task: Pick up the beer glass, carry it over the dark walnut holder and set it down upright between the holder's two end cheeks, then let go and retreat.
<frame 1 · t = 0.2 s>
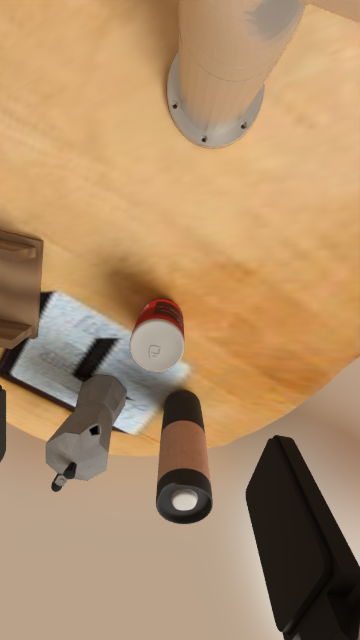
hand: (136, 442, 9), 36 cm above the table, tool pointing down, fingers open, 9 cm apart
coffeepot: (101, 396, 53), on the table
canned food: (161, 318, 47), on the table
holder: (3, 283, 44), on the table
travel mug: (182, 404, 53), on the table
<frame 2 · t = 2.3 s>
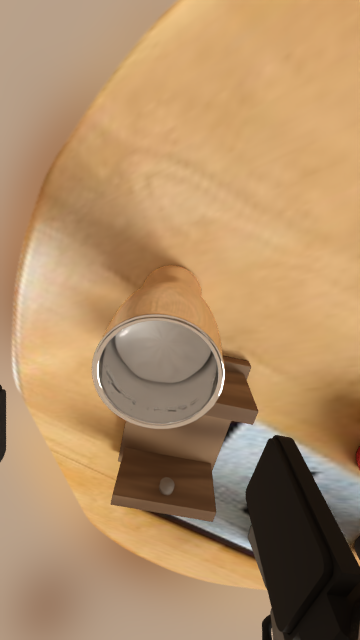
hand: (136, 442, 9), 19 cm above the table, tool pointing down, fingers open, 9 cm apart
coffeepot: (273, 532, 40), on the table
holder: (179, 411, 32), on the table
beer glass: (171, 294, 27), on the table
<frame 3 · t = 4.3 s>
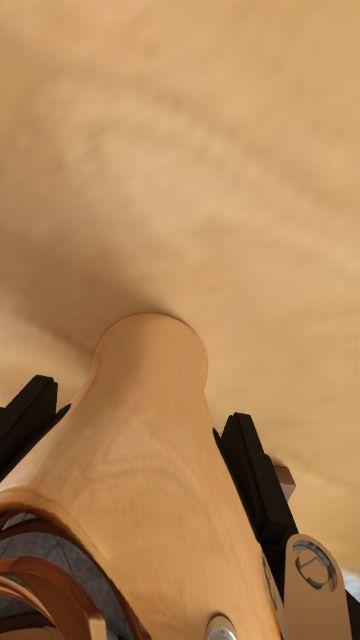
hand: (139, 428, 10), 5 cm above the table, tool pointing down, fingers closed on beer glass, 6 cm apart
holder: (169, 538, 20), on the table
beer glass: (152, 363, 15), on the table, touching gripper
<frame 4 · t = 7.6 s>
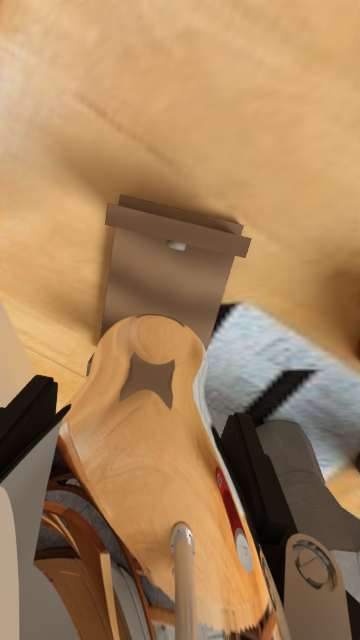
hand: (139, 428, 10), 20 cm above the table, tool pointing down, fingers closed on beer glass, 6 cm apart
coffeepot: (269, 449, 37), on the table
holder: (165, 292, 29), on the table
beer glass: (152, 363, 15), point 15 cm above the table, touching gripper
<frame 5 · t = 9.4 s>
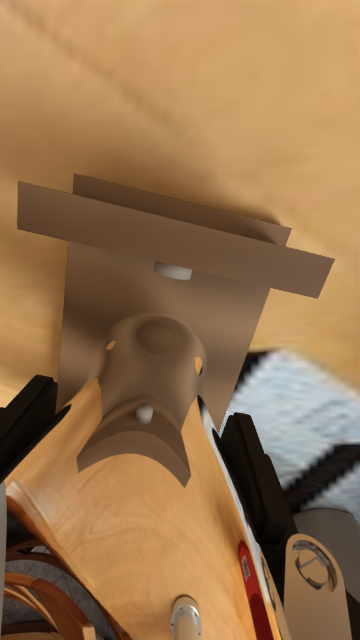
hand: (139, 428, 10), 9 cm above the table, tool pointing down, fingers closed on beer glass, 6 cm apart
coffeepot: (306, 541, 27), on the table
holder: (157, 334, 18), on the table
beer glass: (152, 363, 15), point 4 cm above the table, touching gripper
when the fingers open (7 cm above the table, at t = 10.7 s): beer glass drops 2 cm, resting on holder.
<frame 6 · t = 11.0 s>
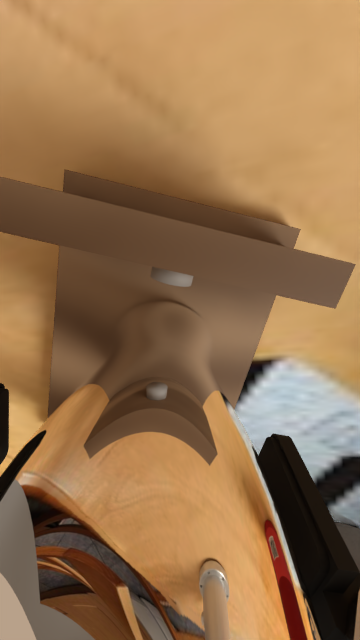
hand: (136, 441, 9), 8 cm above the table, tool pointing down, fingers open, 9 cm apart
coffeepot: (312, 556, 25), on the table
holder: (155, 341, 17), on the table
beer glass: (162, 347, 16), point 1 cm above the table, touching holder
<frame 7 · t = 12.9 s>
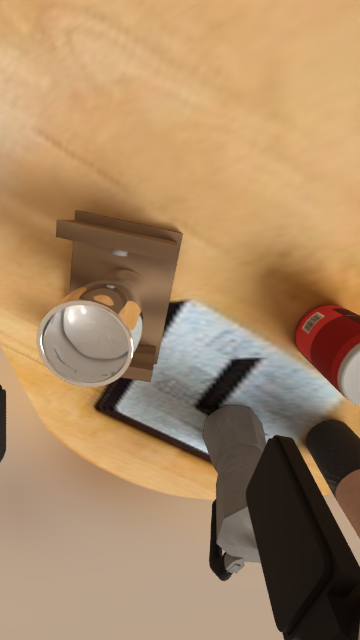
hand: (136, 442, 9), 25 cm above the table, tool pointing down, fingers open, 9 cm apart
coffeepot: (227, 432, 41), on the table
canned food: (320, 330, 36), on the table
holder: (121, 292, 33), on the table
beer glass: (124, 293, 32), point 1 cm above the table, touching holder
travel mug: (327, 437, 42), on the table
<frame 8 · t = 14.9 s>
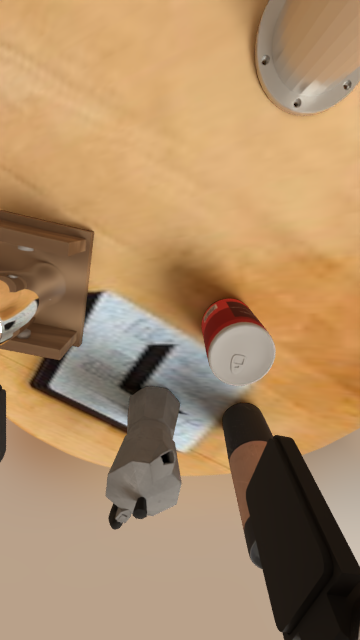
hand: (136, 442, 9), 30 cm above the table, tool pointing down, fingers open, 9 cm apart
coffeepot: (151, 411, 46), on the table
canned food: (225, 321, 41), on the table
holder: (45, 282, 38), on the table
beer glass: (45, 283, 37), point 1 cm above the table, touching holder
travel mug: (242, 418, 47), on the table
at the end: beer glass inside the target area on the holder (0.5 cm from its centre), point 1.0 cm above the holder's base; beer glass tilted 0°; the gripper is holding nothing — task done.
